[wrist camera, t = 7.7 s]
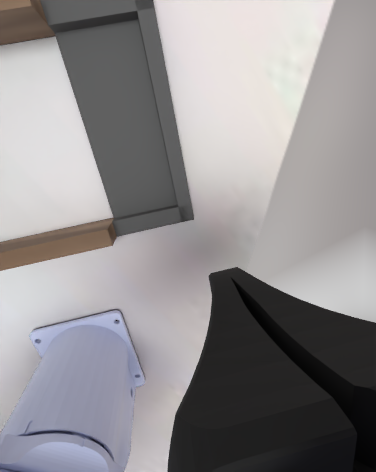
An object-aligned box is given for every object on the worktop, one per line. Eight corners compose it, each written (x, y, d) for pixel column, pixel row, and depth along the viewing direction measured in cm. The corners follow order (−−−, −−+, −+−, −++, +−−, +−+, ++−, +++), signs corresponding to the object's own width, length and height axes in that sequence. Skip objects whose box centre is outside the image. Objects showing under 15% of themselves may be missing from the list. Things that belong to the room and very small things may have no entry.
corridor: (119, 231, 18) (112, 245, 16) (4, 256, 18) (-24, 276, 15) (48, 10, 13) (20, -28, 11) (-114, 36, 13) (-189, 3, 10)
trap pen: (191, 215, 19) (194, 219, 18) (119, 231, 18) (116, 236, 17) (149, -6, 14) (149, -21, 13) (48, 10, 13) (39, -3, 12)
